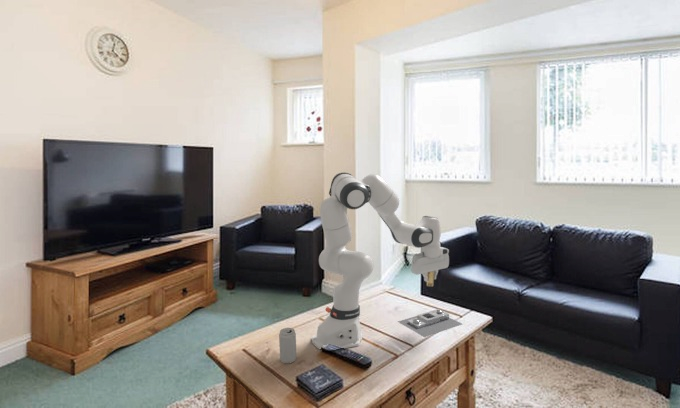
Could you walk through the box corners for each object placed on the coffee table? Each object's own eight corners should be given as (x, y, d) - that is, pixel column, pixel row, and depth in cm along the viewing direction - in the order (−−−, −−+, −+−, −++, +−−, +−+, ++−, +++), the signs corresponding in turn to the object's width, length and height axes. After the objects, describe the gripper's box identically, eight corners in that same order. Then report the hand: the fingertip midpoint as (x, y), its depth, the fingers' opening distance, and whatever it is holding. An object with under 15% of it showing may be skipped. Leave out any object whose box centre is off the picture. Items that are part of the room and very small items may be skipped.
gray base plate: (424, 338, 156) (424, 337, 156) (397, 322, 172) (397, 321, 172) (462, 325, 168) (462, 324, 168) (434, 311, 184) (434, 310, 184)
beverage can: (291, 365, 137) (290, 335, 135) (276, 362, 139) (275, 333, 138) (299, 357, 142) (298, 328, 141) (285, 354, 145) (284, 325, 143)
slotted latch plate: (417, 328, 164) (417, 321, 164) (407, 322, 170) (407, 316, 170) (449, 318, 174) (449, 312, 174) (438, 313, 180) (438, 307, 180)
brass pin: (429, 287, 165) (430, 270, 164) (425, 285, 167) (425, 268, 166) (434, 286, 166) (434, 269, 165) (430, 284, 169) (430, 267, 168)
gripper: (417, 256, 157) (417, 286, 159) (451, 249, 167) (451, 278, 169) (408, 252, 162) (408, 282, 164) (441, 246, 172) (441, 274, 174)
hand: (430, 280), depth 166 cm, fingers closed on brass pin, 3 cm apart
